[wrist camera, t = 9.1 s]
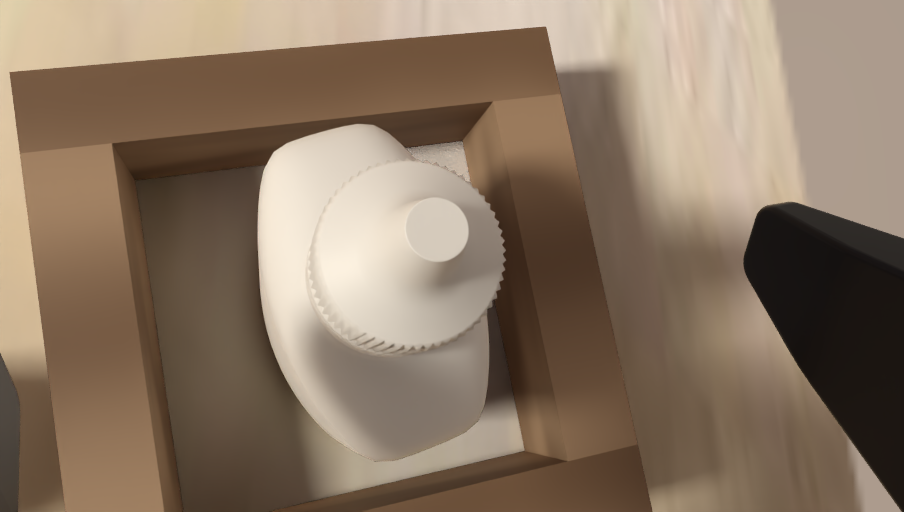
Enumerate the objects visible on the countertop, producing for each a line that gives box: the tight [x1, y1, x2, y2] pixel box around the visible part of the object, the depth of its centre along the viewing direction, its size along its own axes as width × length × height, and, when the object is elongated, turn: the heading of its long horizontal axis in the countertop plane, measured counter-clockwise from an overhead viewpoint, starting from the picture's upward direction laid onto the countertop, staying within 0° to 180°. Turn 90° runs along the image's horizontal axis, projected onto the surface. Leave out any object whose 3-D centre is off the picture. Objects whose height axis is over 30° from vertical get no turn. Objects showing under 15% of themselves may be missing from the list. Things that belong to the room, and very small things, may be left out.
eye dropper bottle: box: [258, 124, 506, 462], centre depth 14 cm, size 4×6×12 cm
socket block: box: [10, 27, 652, 512], centre depth 18 cm, size 12×12×3 cm
